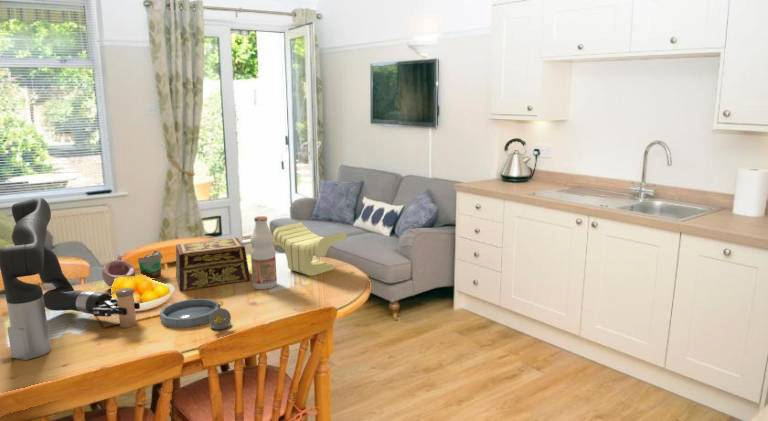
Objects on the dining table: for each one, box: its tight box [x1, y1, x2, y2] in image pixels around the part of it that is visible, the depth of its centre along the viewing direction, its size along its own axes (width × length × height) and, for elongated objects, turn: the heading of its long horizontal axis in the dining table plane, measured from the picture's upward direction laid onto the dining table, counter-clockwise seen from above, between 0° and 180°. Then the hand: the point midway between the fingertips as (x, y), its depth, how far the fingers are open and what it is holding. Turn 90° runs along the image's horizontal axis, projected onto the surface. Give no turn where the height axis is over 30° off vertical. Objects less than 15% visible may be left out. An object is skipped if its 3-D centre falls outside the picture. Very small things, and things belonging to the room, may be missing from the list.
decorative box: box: [175, 237, 251, 292], centre depth 236 cm, size 28×19×15 cm
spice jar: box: [115, 287, 137, 329], centre depth 190 cm, size 5×5×12 cm
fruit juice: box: [250, 215, 278, 290], centre depth 225 cm, size 9×9×28 cm
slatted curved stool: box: [272, 221, 347, 277], centre depth 246 cm, size 30×16×18 cm, turn 47°
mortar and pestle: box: [101, 259, 136, 288], centre depth 228 cm, size 12×12×11 cm
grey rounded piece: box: [209, 301, 232, 330], centre depth 187 cm, size 8×8×10 cm
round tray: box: [159, 298, 219, 328], centre depth 198 cm, size 19×19×3 cm
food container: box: [137, 250, 163, 280], centre depth 241 cm, size 12×6×10 cm, turn 168°
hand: (132, 308), depth 189 cm, fingers closed on spice jar, 5 cm apart
